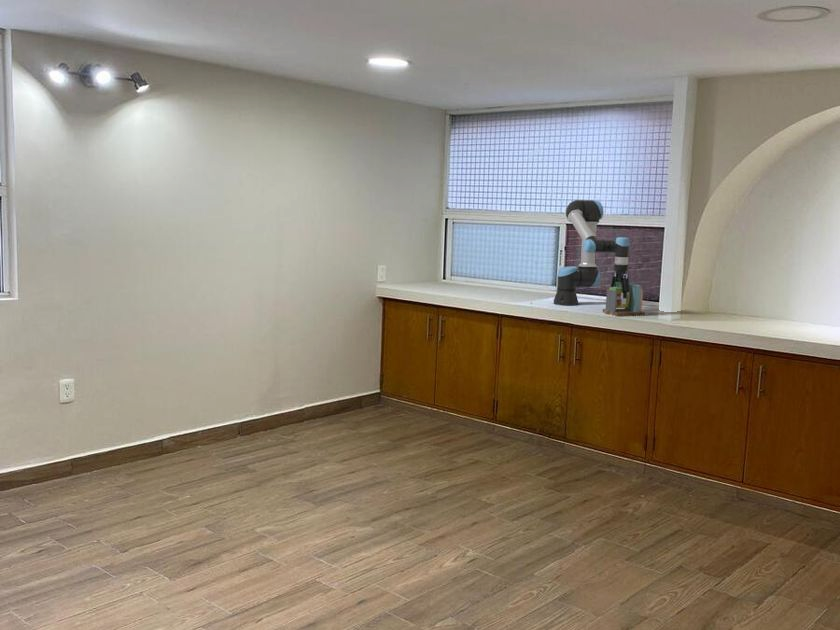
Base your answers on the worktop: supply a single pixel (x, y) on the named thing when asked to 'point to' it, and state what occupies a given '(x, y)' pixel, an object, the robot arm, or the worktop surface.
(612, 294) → the bookend
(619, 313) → the shelf
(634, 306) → the books
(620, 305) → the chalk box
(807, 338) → the worktop surface
